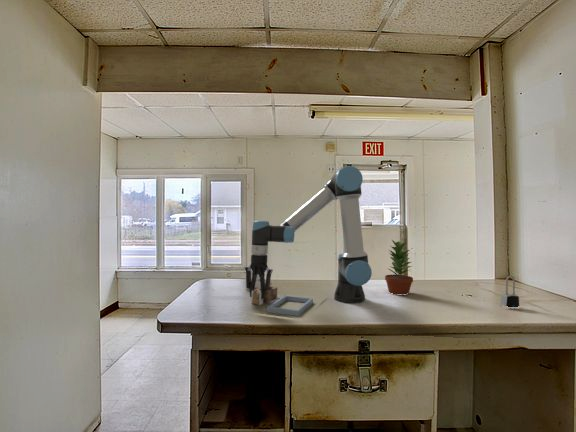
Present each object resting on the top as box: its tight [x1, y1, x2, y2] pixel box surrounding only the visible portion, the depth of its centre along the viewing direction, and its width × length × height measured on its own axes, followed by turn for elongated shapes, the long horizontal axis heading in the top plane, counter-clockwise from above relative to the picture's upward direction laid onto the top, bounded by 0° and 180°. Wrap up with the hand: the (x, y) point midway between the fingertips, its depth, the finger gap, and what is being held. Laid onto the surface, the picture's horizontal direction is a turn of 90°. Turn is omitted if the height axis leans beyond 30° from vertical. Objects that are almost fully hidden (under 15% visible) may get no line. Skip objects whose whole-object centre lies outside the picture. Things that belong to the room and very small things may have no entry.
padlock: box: [500, 275, 520, 307], centre depth 146 cm, size 7×4×15 cm, turn 93°
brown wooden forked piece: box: [251, 285, 278, 305], centre depth 149 cm, size 16×7×5 cm, turn 156°
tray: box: [266, 295, 314, 319], centre depth 139 cm, size 14×21×3 cm, turn 159°
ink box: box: [245, 269, 261, 291], centre depth 173 cm, size 9×5×12 cm, turn 84°
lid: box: [263, 281, 281, 304], centre depth 151 cm, size 13×13×9 cm
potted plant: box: [384, 239, 414, 295], centre depth 172 cm, size 15×15×30 cm
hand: (257, 304), depth 144 cm, fingers closed on brown wooden forked piece, 3 cm apart
